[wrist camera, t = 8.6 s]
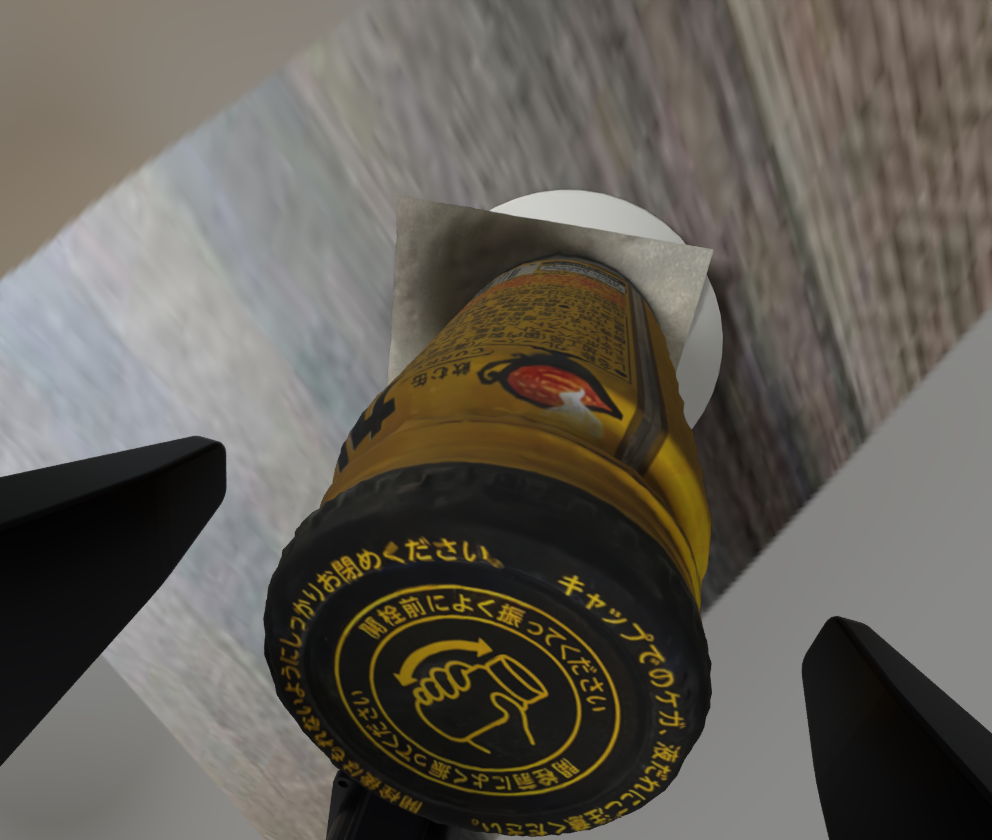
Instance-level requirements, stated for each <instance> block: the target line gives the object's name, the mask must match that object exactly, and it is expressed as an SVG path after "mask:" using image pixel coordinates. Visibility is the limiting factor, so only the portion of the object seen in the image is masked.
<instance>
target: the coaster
mask: <svg viewBox="0 0 992 840" xmlns="http://www.w3.org/2000/svg"><path fill="white" fill-rule="evenodd" d="M490 211H492V212H498V213H504V214H509V215H513V216H519V217H525V218H532V219H539V220H547V221H551V222H557V223H563V224H570V225H576V226H580V227H587V228H594V229H599V230H605V231H611V232H616V233H621V234H626V235H633V236H640V237H645V238H651V239H657V240H662V241H668V242H673V243H679V244H685V243H684V242H683V240H682V239H681V238H680V237H679V236H678V234H676V233H675V232H674V231H673V230H672V229H671V228H670V227H669V226H667V225H666V224H665V223H664V222H663V221H662V220H660V219H659V218H657V217H656V216H654V215H653V214H651V213H650V212H648V211H647V210H645V209H644V208H641V207H639V206H637V205H635V204H633V203H631V202H629V201H627V200H625V199H621V198H618V197H615V196H612V195H608V194H605V193H600V192H594V191H588V190H576V189H558V190H550V191H542V192H537V193H533V194H529V195H526V196H522V197H518V198H516V199H514V200H511V201H509V202H507V203H504V204H502V205H500V206H497V207H495V208H493V209H491V210H490ZM685 245H686V244H685ZM722 341H723V333H722V324H721V315H720V311H719V307H718V303H717V299H716V296H715V293H714V290H713V288H712V286H711V283H710V281H709V279H708V276H707V274H706V277H705V280H704V284H703V287H702V290H701V293H700V297H699V300H698V304H697V307H696V309H695V313H694V317H693V320H692V323H691V325H690V328H689V332H688V335H687V338H686V341H685V345H684V348H683V352H682V355H681V358H680V361H679V365H678V368H677V371H676V379H677V381H678V383H679V394H680V396H681V398H682V399H683V401H684V416H685V418H686V421H687V423H688V425H689V427H690V428H691V430H692V429H693V427H694V426H695V424H696V423H697V421H698V420H699V418H700V417H701V415H702V414H703V412H704V410H705V408H706V406H707V404H708V402H709V400H710V398H711V396H712V394H713V391H714V388H715V384H716V381H717V378H718V375H719V370H720V364H721V358H722Z"/></svg>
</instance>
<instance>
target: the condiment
mask: <svg viewBox="0 0 992 840" xmlns="http://www.w3.org/2000/svg"><path fill="white" fill-rule="evenodd" d="M396 223H397V239H396V258H395V273H394V299H393V313H392V327H391V339H392V343H391V348H390V357H389V369H388V386H387V387H386V388H385V390H384V391H382V392H381V393H380V394H378V395H377V396H376V398H375V399H374V400H373V402H372V403H371V404H370V406H369V407H368V408H367V409H366V410H365V411H364V412H363V413H362V414H361V416H360V418H359V420H358V421H357V423H356V424H355V426H354V427H353V429H352V430H351V431H350V432H349V435H348V438H347V440H346V441H345V442H344V443H343V445H342V448H341V453H340V456H339V458H338V461H337V464H336V468H335V473H334V478H333V483H332V485H331V486H330V487H329V489H328V490H327V492H326V494H325V495H324V497H323V499H322V502H321V505H320V508H319V509H318V510H316V511H314V512H312V513H311V514H310V515H309V516H308V517H307V518H306V519H305V520H304V521H303V522H302V523H301V525H300V526H299V527H298V528H297V529H296V531H295V537H294V538H293V539H292V540H291V541H290V543H289V544H288V545H287V546H286V547H285V548H284V549H283V550H282V557H281V559H280V562H279V565H278V568H277V569H276V571H275V572H274V574H273V575H272V578H271V581H270V584H269V587H268V594H267V600H266V606H265V612H264V618H263V620H264V628H265V642H264V655H265V658H266V661H267V664H268V666H269V669H270V672H271V675H272V678H273V681H274V684H275V688H276V694H277V696H278V697H279V699H280V700H281V702H282V704H283V705H284V707H285V708H286V709H287V710H288V712H289V713H290V714H291V715H292V717H293V718H294V719H295V720H296V722H297V723H298V724H299V726H300V728H301V729H302V731H303V732H304V733H305V734H306V735H307V736H308V737H309V738H310V739H311V741H312V742H313V743H314V744H315V745H316V746H317V747H318V748H319V749H320V750H321V751H323V752H324V753H325V755H326V756H327V757H328V758H329V759H330V760H331V762H332V764H333V765H334V766H335V767H337V768H338V769H340V770H341V771H343V772H345V773H346V774H347V775H348V776H349V778H350V779H352V780H355V781H357V782H358V783H359V784H361V785H362V786H363V787H364V788H366V789H367V790H368V791H370V792H371V793H373V794H375V795H377V796H378V797H380V798H382V799H384V800H386V801H387V802H389V803H390V804H393V805H397V806H399V807H401V808H403V809H405V810H407V811H409V812H411V813H413V814H416V815H419V816H421V817H424V818H426V819H429V820H431V821H433V822H436V823H438V824H446V825H451V826H457V827H461V828H464V829H467V830H471V831H475V832H485V833H498V834H502V835H508V836H515V835H518V836H530V837H534V836H535V837H536V836H547V835H560V834H562V833H573V832H577V831H582V830H591V829H593V828H595V827H598V826H601V825H605V824H607V823H609V822H612V821H614V820H615V819H617V818H621V817H622V816H624V815H627V814H630V813H632V812H634V811H636V810H638V809H640V808H642V807H643V806H644V805H646V804H647V803H648V802H650V801H651V800H652V799H654V798H655V797H656V796H658V795H659V794H661V793H662V792H663V791H665V790H666V788H667V787H668V786H669V785H670V783H671V782H672V781H673V780H674V779H675V778H676V776H677V775H678V773H679V771H680V768H681V766H682V764H683V762H684V760H685V758H686V757H687V755H688V754H689V752H690V751H691V750H692V748H693V746H694V744H695V743H696V742H697V740H698V739H699V737H700V735H701V733H702V731H703V729H704V726H705V720H706V716H707V714H708V711H709V709H710V699H711V695H712V689H711V678H710V671H711V660H710V658H709V654H708V644H707V639H706V637H705V633H704V629H703V626H702V620H701V616H700V613H701V587H702V580H703V578H704V576H705V573H706V570H707V566H708V556H709V549H710V543H711V529H712V518H711V513H710V510H709V507H708V502H707V497H706V491H705V488H704V483H703V471H702V468H701V465H700V462H699V461H698V460H697V446H696V443H695V442H694V435H693V432H692V430H691V428H690V427H689V425H688V423H687V421H686V418H685V416H684V401H683V399H682V398H681V396H680V394H679V383H678V381H677V379H676V371H677V368H678V365H679V361H680V358H681V355H682V352H683V348H684V345H685V341H686V338H687V335H688V332H689V328H690V325H691V323H692V320H693V317H694V313H695V309H696V307H697V304H698V300H699V297H700V293H701V290H702V287H703V284H704V280H705V277H706V274H707V270H708V267H709V264H710V260H711V257H712V253H713V250H714V249H708V248H702V247H696V246H690V245H685V244H679V243H673V242H668V241H662V240H657V239H651V238H645V237H640V236H633V235H626V234H621V233H616V232H611V231H605V230H599V229H594V228H587V227H580V226H576V225H570V224H563V223H557V222H551V221H547V220H539V219H532V218H525V217H519V216H513V215H509V214H504V213H498V212H492V211H486V210H481V209H475V208H471V207H463V206H457V205H450V204H443V203H437V202H431V201H426V200H420V199H415V198H409V197H403V196H398V200H397V221H396Z"/></svg>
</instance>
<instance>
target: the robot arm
mask: <svg viewBox="0 0 992 840" xmlns="http://www.w3.org/2000/svg"><path fill="white" fill-rule="evenodd" d="M225 493H226V449H225V446H224V445H223V444H222V443H221V442H219V441H215V440H212V439H208V438H205V437H201V436H191V437H187V438H182V439H177V440H172V441H168V442H163V443H158V444H154V445H149V446H144V447H140V448H135V449H130V450H126V451H121V452H116V453H112V454H107V455H102V456H97V457H93V458H88V459H83V460H79V461H74V462H69V463H65V464H60V465H55V466H51V467H46V468H41V469H37V470H32V471H27V472H22V473H18V474H13V475H8V476H4V477H0V766H1V765H2V764H3V763H4V762H5V761H6V760H7V758H8V757H9V756H10V755H11V754H12V753H13V752H14V751H15V749H16V748H17V747H18V746H19V745H20V744H21V743H22V742H23V740H24V739H25V738H26V737H27V736H28V735H29V734H30V733H31V732H32V730H33V729H34V728H35V727H36V726H37V725H38V724H39V723H40V721H41V720H42V719H43V718H44V717H45V716H46V715H47V714H48V713H49V711H50V710H51V709H52V708H53V707H54V706H55V705H56V704H57V702H58V701H59V700H60V699H61V698H62V696H64V694H65V693H66V692H67V691H68V690H69V689H70V688H71V687H72V686H73V685H74V683H75V682H76V681H77V680H78V679H79V678H80V677H81V676H82V674H83V673H84V672H85V671H86V670H87V669H88V668H89V667H90V665H91V664H92V663H93V662H94V661H95V660H96V659H97V658H98V657H99V655H100V654H101V653H102V652H103V651H104V650H105V649H106V648H107V646H108V645H109V644H110V643H111V642H112V641H113V640H114V639H115V637H116V636H117V635H118V634H119V633H120V632H121V631H122V630H123V629H124V627H125V626H126V625H127V624H128V623H129V622H130V621H131V620H132V618H133V617H134V616H135V615H136V614H137V613H138V612H139V611H140V609H141V608H142V607H143V606H144V605H145V604H146V603H147V602H148V600H149V599H150V598H151V597H152V596H153V595H154V594H155V592H156V591H157V590H158V589H159V588H160V587H161V585H162V584H163V583H164V582H165V580H166V579H167V578H168V576H169V575H170V574H171V573H172V571H173V570H174V569H175V567H176V566H177V564H178V563H179V562H180V560H181V559H182V557H183V556H184V555H185V553H186V552H187V551H188V549H189V548H190V546H191V545H192V544H193V542H194V541H195V539H196V538H197V537H198V535H199V534H200V533H201V531H202V530H203V528H204V527H205V526H206V524H207V523H208V521H209V520H210V519H211V517H212V516H213V515H214V513H215V512H216V510H217V509H218V508H219V506H220V505H221V503H222V501H223V499H224V497H225ZM802 680H803V687H804V695H805V702H806V711H807V719H808V726H809V734H810V742H811V750H812V758H813V765H814V771H815V778H816V784H817V788H818V793H819V798H820V803H821V807H822V811H823V815H824V819H825V824H826V828H827V832H828V837H829V840H992V733H991V732H990V731H988V730H987V729H986V728H985V727H984V726H983V725H982V724H980V723H979V722H978V721H977V720H976V719H975V718H973V717H972V716H971V715H970V714H969V713H968V712H967V711H965V710H964V709H963V708H962V707H961V706H960V705H958V704H957V703H956V702H955V701H954V700H953V699H952V698H950V697H949V696H948V695H947V694H946V693H945V692H944V691H942V690H941V689H940V688H939V687H938V686H936V684H934V683H933V682H932V681H931V680H930V679H928V678H927V677H926V676H925V675H924V674H923V673H922V672H920V671H919V670H918V669H917V668H916V667H915V666H914V665H912V664H911V663H910V662H909V661H908V660H907V659H905V658H904V657H903V656H902V655H901V654H900V653H899V652H897V651H896V650H895V649H894V648H893V647H891V645H889V644H888V643H887V642H886V641H885V640H884V639H882V638H881V637H880V636H879V635H878V634H876V632H874V631H873V630H872V629H871V628H870V627H869V626H867V625H865V624H863V623H861V622H857V621H854V620H850V619H846V618H842V617H839V616H835V617H831V618H830V619H828V620H827V622H826V623H825V624H824V626H823V627H822V629H821V630H820V632H819V634H818V635H817V637H816V638H815V640H814V642H813V643H812V645H811V646H810V648H809V650H808V651H807V653H806V655H805V657H804V659H803V663H802ZM460 828H461V827H457V826H451V825H446V824H438V823H436V822H433V821H431V820H429V819H426V818H424V817H421V816H419V815H416V814H413V813H411V812H409V811H407V810H405V809H403V808H401V807H399V806H397V805H393V804H390V803H389V802H387V801H386V800H384V799H382V798H380V797H378V796H377V795H375V794H373V793H371V792H370V791H368V790H367V789H366V788H364V787H363V786H362V785H361V784H359V783H358V782H357V781H355V780H352V779H350V778H349V776H348V775H347V774H346V773H345V772H343V771H341V770H339V771H338V772H337V774H336V776H335V779H334V781H333V788H332V796H331V804H330V812H329V820H328V828H327V836H326V840H457V838H458V835H459V832H460Z"/></svg>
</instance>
